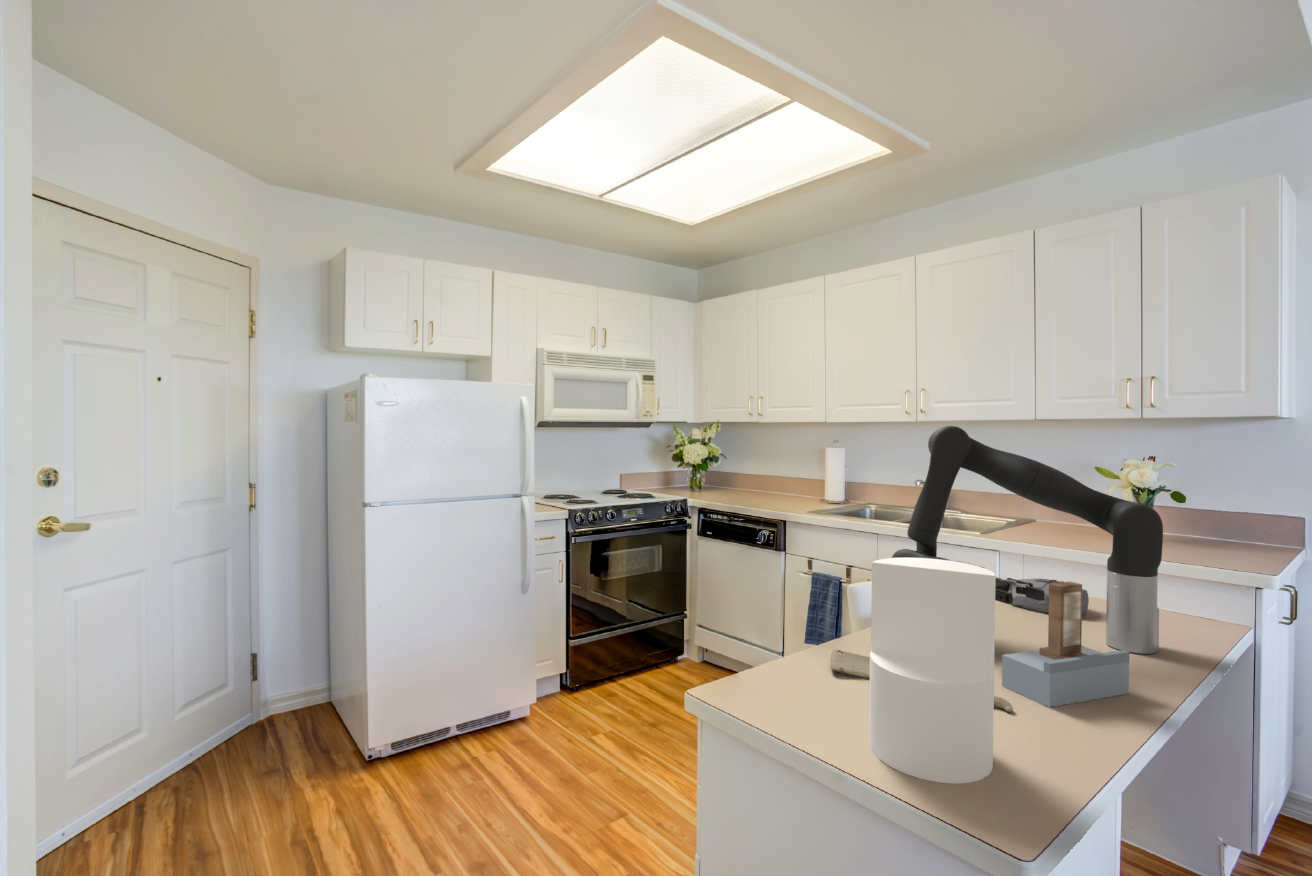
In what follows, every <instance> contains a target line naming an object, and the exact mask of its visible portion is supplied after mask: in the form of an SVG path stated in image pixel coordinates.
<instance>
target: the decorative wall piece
mask: <svg viewBox="0 0 1312 876" xmlns="http://www.w3.org/2000/svg"><path fill="white" fill-rule="evenodd" d="M830 669H831V671H833V672H836V673H837V672H838V673H842V674H846V675H849V676H856V677H861V678H863V679H869V680H870V656H865V655H861V654H856V653H853V652H848V651H844V650H841V649H838V648H837V649H836V648H835V649H833V650H832V651H831V655H830ZM995 707H996V708H999V709H1003V710H1004V711H1006V712H1013V709H1014V708H1013V706H1012V704H1011V703H1010V702H1009V701H1008V700H1006V699H1005V698H1003V697H1001V696H997V695H996V696H995V695H994V708H995Z"/></svg>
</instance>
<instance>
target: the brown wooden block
mask: <svg viewBox="0 0 1312 876" xmlns="http://www.w3.org/2000/svg"><path fill="white" fill-rule="evenodd" d="M1082 589H1083V584H1082V583H1077V582H1073V581H1064V582H1062V581H1061V582H1059V583H1049V614H1048V625H1047V627H1048V628H1047V629H1048V632H1047V633H1048V635H1047V636H1048V637H1047V638H1048V639H1047V640H1048V641H1047V643H1048V644H1047V647H1046V646H1045V647H1040V648H1039V650H1040V655H1043V656H1045V657H1048V658H1051V659H1053V660H1058V659H1065V658H1072V657H1079V656H1086V655H1087V654H1084V653H1081V646H1082V629H1083V628H1082V621H1083V616H1082Z"/></svg>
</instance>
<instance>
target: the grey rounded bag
mask: <svg viewBox="0 0 1312 876" xmlns="http://www.w3.org/2000/svg"><path fill="white" fill-rule="evenodd" d="M1019 580H1020V581H1024V582H1028V583H1032V584H1033V588H1037V589H1041V590H1043V591H1044V593H1045V595H1044V601H1038V600H1035V599H1031V598H1028V597H1023V596H1016V597H1014V598H1013V603H1012V604H1011V605H1013V606H1018V607H1019V608H1021V609H1022V608H1023V609H1025V610H1028V609H1029V611H1033V612H1038V613H1042V612H1043V614H1048V615H1049V583H1059V582H1065V581H1060V580H1059V581H1058V580H1057V579H1048V578H1034V577H1033V578H1022V579H1019ZM1009 593H1012V591H1010V590H1009ZM1089 602H1090V598H1089V593H1088V590H1086V589H1084V588H1082V615H1083V614H1084V613H1085V612H1087V610H1088V607H1089ZM1085 614H1086V613H1085ZM1085 614H1084V615H1085ZM1084 615H1083V616H1084Z"/></svg>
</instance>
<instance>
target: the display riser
mask: <svg viewBox="0 0 1312 876" xmlns="http://www.w3.org/2000/svg"><path fill="white" fill-rule="evenodd" d="M1081 653H1084V654H1087V655H1086V656H1079V657H1072V658H1065V659H1058V660H1053V659H1051V658H1048V657H1045V656H1043V655H1040V649H1036V650H1034V649H1033V650H1030V651H1029V650H1028V651H1021V652H1015V653H1007V654H1002V655H1001V656H1002V659H1001V664H1002V665H1001V667H1002V668H1001V686H1002V685H1003V686H1005V687H1004V688H1006V687H1007V688H1006V689H1008V688H1009V689H1008V690H1010V689H1011V691H1012V690H1014V691H1015V693H1017V692H1018V693H1017V694H1019V693H1020V694H1019V695H1021V694H1023V695H1025V696H1027V697H1030V698H1031V699H1030V698H1029V699H1030V700H1032V699H1034V700H1035V701H1034V700H1033V701H1034V702H1036V701H1037V702H1036V703H1038V702H1040V703H1042V704H1041V705H1043V704H1044V705H1043V706H1045V705H1046V706H1045V707H1047V706H1048V708H1049V707H1050V708H1055V707H1061V706H1064V705H1063V704H1067V705H1071V704H1070V703H1072V704H1076V703H1075V702H1078V703H1082V702H1081V701H1084V702H1088V700H1089V701H1093V699H1095V700H1099V699H1100V698H1101V699H1104V698H1103V697H1106V698H1110V697H1116V696H1115V695H1118V696H1122V695H1129V694H1130V693H1129V692H1130V691H1129V690H1130V687H1129V686H1130V652H1127V651H1124V650H1115V651H1107V652H1102V651H1099V650H1095V649H1092V648H1089V647H1088V646H1087V647H1086V646H1084V645H1081ZM1003 686H1002V687H1003ZM1014 691H1013V692H1014ZM1023 695H1022V696H1023ZM1025 696H1024V697H1025ZM1027 697H1026V698H1027ZM1040 703H1039V704H1040ZM1060 705H1061V706H1060ZM1052 706H1053V707H1052ZM1054 706H1055V707H1054Z"/></svg>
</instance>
